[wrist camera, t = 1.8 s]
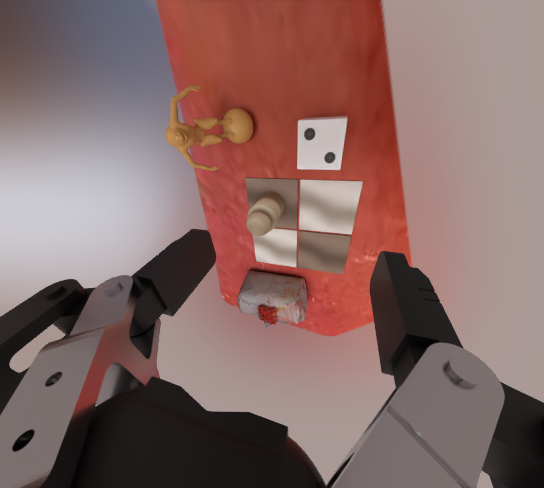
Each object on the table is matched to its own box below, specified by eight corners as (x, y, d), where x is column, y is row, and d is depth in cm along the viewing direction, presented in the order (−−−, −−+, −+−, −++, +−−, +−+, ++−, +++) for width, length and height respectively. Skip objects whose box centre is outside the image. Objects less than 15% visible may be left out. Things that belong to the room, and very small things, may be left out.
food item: (310, 274, 39) (302, 315, 32) (308, 299, 44) (301, 340, 36) (248, 265, 43) (228, 300, 36) (253, 289, 48) (236, 325, 40)
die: (305, 118, 24) (297, 120, 21) (346, 115, 23) (347, 118, 19) (303, 159, 27) (297, 169, 23) (340, 160, 26) (340, 170, 22)
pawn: (258, 191, 32) (237, 213, 25) (284, 192, 31) (269, 216, 24) (261, 215, 34) (242, 241, 28) (285, 217, 33) (271, 245, 27)
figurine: (260, 156, 29) (221, 182, 19) (225, 158, 30) (173, 182, 21) (252, 85, 24) (196, 73, 15) (211, 91, 26) (136, 84, 16)
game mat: (245, 177, 31) (245, 178, 31) (362, 181, 27) (362, 181, 26) (256, 260, 41) (256, 261, 41) (342, 273, 37) (343, 274, 37)
